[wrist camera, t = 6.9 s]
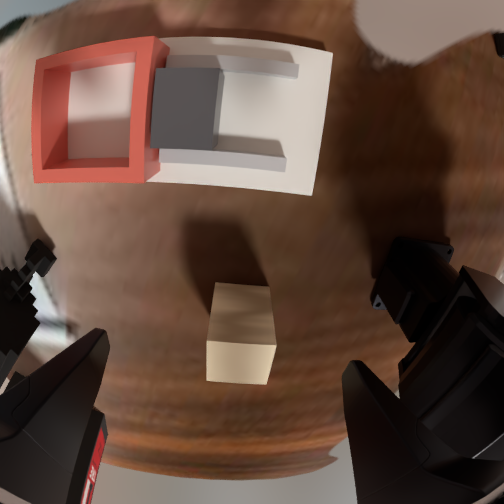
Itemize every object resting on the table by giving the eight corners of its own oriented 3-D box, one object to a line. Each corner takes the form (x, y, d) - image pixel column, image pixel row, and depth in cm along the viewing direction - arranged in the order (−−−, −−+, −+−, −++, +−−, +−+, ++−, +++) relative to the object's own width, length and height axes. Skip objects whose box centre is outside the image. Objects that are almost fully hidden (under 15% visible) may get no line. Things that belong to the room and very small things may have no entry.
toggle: (224, 76, 13) (219, 68, 11) (217, 143, 15) (211, 150, 12) (171, 75, 13) (156, 68, 10) (166, 141, 15) (149, 148, 12)
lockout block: (269, 286, 21) (276, 345, 16) (262, 325, 23) (266, 384, 18) (215, 282, 21) (206, 340, 15) (213, 322, 23) (206, 380, 17)
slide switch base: (328, 56, 13) (350, 42, 10) (308, 191, 18) (324, 212, 14) (70, 56, 12) (35, 50, 9) (66, 177, 16) (33, 194, 13)
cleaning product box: (104, 414, 31) (74, 529, 14) (107, 434, 35) (85, 530, 18) (15, 371, 29) (-30, 467, 11) (28, 397, 32) (-6, 482, 15)
